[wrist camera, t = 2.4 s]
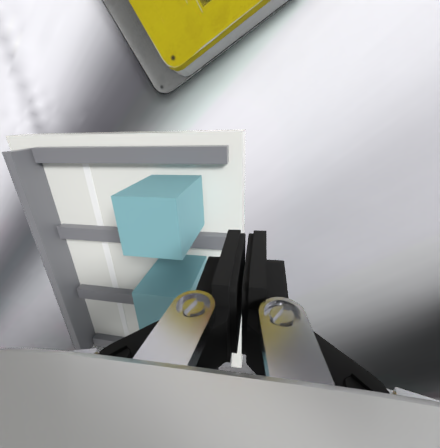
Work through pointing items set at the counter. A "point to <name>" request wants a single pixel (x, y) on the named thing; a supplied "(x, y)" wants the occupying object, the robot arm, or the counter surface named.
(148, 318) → the light teal block
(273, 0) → the emergency button
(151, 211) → the teal rectangular block
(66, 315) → the white ridged tray
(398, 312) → the counter surface
